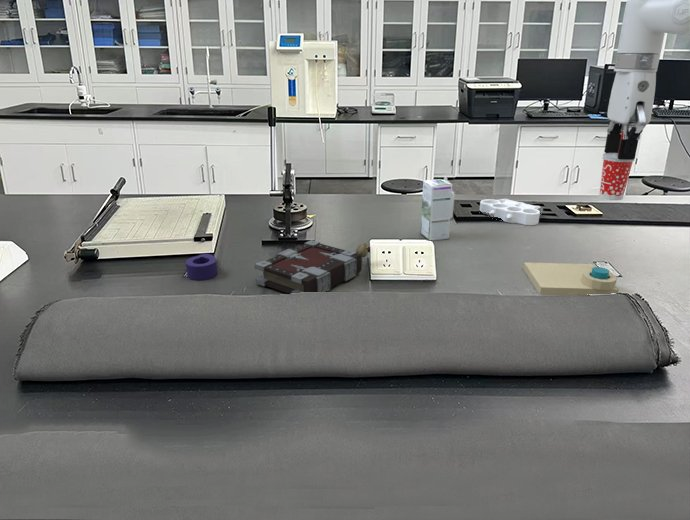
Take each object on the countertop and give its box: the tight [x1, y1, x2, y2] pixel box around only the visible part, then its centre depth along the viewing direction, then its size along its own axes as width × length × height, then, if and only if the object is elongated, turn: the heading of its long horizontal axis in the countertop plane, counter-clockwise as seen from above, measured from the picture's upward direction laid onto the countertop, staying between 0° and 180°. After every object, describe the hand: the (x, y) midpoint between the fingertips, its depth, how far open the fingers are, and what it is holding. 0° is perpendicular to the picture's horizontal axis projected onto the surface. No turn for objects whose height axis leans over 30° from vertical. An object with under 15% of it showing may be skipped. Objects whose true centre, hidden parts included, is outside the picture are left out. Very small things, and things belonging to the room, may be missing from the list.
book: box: [254, 239, 371, 294], centre depth 114 cm, size 15×25×5 cm, turn 143°
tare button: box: [591, 266, 611, 279], centre depth 106 cm, size 3×3×2 cm
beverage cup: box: [598, 131, 635, 201], centre depth 111 cm, size 6×6×14 cm
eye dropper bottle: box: [443, 176, 456, 220], centre depth 150 cm, size 4×6×12 cm
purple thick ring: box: [185, 253, 218, 281], centre depth 116 cm, size 12×6×3 cm, turn 9°
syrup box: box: [420, 178, 453, 241], centre depth 135 cm, size 6×6×14 cm
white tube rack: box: [479, 198, 544, 227], centre depth 153 cm, size 3×18×15 cm
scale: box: [522, 261, 619, 296], centre depth 110 cm, size 15×14×4 cm
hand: (618, 155), depth 110 cm, fingers closed on beverage cup, 6 cm apart
